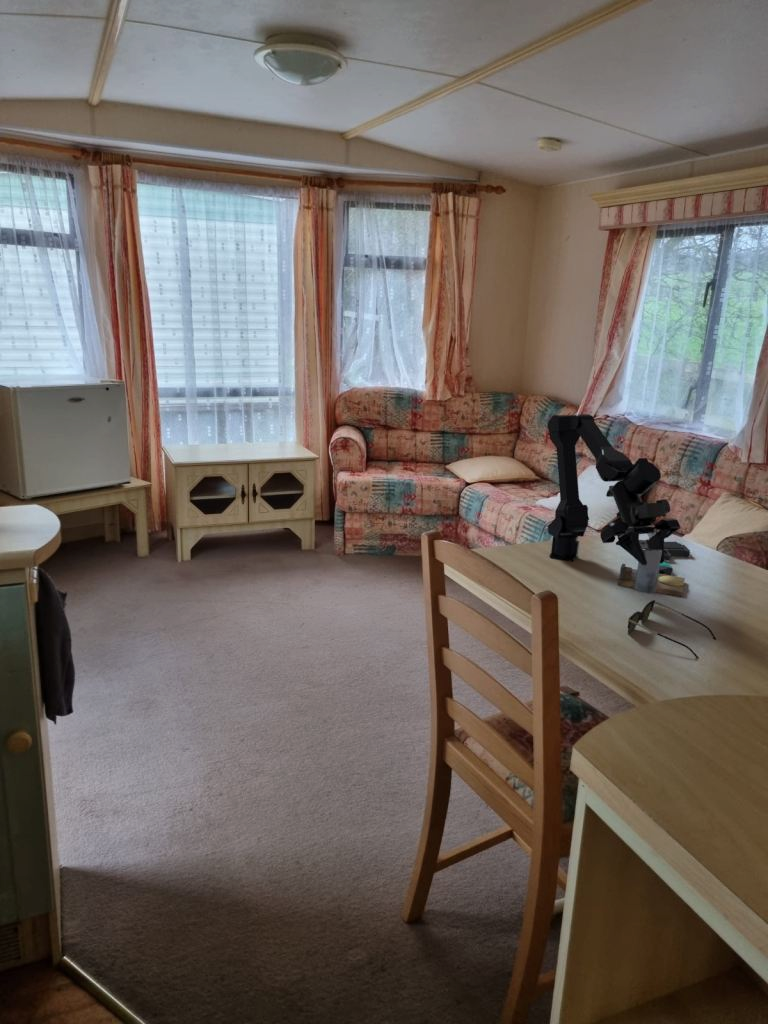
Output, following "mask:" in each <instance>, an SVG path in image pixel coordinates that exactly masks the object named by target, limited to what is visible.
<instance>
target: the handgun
mask: <svg viewBox="0 0 768 1024" xmlns="http://www.w3.org/2000/svg"><path fill="white" fill-rule="evenodd" d="M648 539H649V538H647V539H639V543H640V546H641V547H642V546H648V544H647V542H646V541H647V540H648ZM690 554H691V550H690V549H689V547H687V546H686V545H685V544H682V543H680V542H677V541H664V562H663V563H661V564H660V566H659V572H658V573H659V574H665V575H670V576H673V571H674V568H673V567H672V566H671V564H670V563H669V561H671V558H686V559H687V558H689V557H690V556H691V555H690Z"/></svg>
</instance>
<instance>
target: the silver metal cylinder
mask: <svg viewBox="0 0 768 1024" xmlns="http://www.w3.org/2000/svg"><path fill="white" fill-rule="evenodd" d="M641 548H642V551H643V554H644V556H645V560H646V564H645V565H642V564H641V563H640V562H638V564H637V569H636V570H637V576H636V582H635V588H634V590H635V591H638V592H639V593H642V594H644V593H645V594H653V593H656V592H655V590H656V584H657V578H658V572H659V566H660V560H661V554H662V549H660V548H658V547H654V546H642V547H641Z"/></svg>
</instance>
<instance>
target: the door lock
mask: <svg viewBox="0 0 768 1024" xmlns="http://www.w3.org/2000/svg"><path fill="white" fill-rule="evenodd" d="M636 576H637V569H636V568H635V569H634V568H632V567H631V566H630V567H629V566H626V563H622V564H621V566H620V569H619V578H618V580H617V586H623V587H628V588H632V589H635V582H636ZM684 585H685V577H681V576H676V575H671V576H670V575H665V574H659V573H658V578H657V584H656V590H655V592H654V593H661V594H665V595H671V596H676V597H683V592H684V587H685V586H684Z"/></svg>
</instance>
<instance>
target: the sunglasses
mask: <svg viewBox="0 0 768 1024" xmlns="http://www.w3.org/2000/svg"><path fill="white" fill-rule="evenodd" d="M655 604H656V605H658V606H660V607H661V606H662V607H664V608H666V609H668V610H671V611H672V612H675V613H677V614H679V615H680V616H683V617H685V618H687V619H690V620H692V621H693V622H695V623H697V624H698V625H701V626H702V627H704V628H706V629H707V631H709V633H710V635H711V636H712V638H713V639H714V640H715V641H717V638H716V636H715V635H714V633H713V632H712V630H711V629H710V627H708V626H707V625H706V624H704V623H702V622H701V621H698V620H696V619H695V618H692V617H691V616H689V615H687V614H684V613H682V612H680V611H678V610H675V609H674V608H671V607H669V606H666V605H665V604H662V603H660V602H658V601H656V600H651V601H649V602H648V603H646V605H645V606H644V608H642V611H635V612H634V613H632V614H631V615H630V616H629V617H628V621H627V622H628V623H627V634H628V635H630V633H632V632H633V631H634V630H635V629H636V628H637V626H639V627H640V628H642V629H645V630H647V631H648V632H651V633H652V634H655V635H657V636H660V637H661V638H664V639H666V640H668V641H671V642H673V643H676V644H678V645H680V646H682V647H685V649H688V651H690V652H691V654H692V655H694V656H695V658H697V659H699V658H700V657H699V656H698V655H697V654H696V653H695V652H694V650H693V649H692V648H691V647H689V646H688V645H686V644H684V643H681V642H680V641H678V640H676V639H673V638H670V637H668V636H665V635H664V634H661V633H658V632H657V631H654V630H652V629H649V628H648V627H645V626H643V625H641V623H642V624H644V623H645V622H646V621H647V620H648V619H649V617H650V614H651V613H652V612H653V609H654V605H655ZM645 620H646V621H645ZM644 621H645V622H644ZM639 622H640V624H639ZM631 631H632V632H631Z"/></svg>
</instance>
